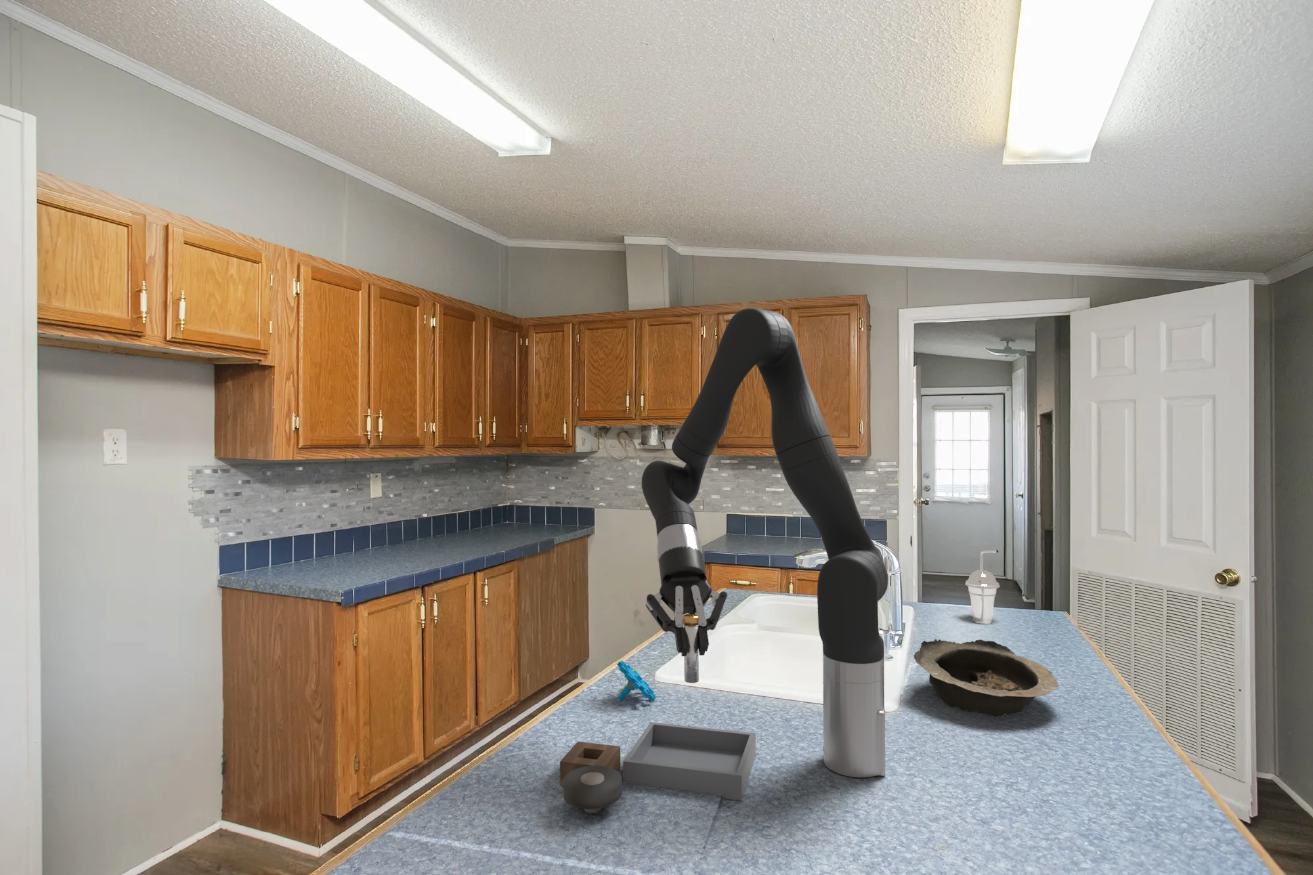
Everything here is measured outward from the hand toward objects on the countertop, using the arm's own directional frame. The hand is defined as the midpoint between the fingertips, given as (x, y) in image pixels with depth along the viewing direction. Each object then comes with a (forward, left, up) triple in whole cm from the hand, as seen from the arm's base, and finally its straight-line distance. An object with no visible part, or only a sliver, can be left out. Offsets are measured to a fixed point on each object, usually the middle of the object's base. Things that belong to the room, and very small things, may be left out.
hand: (693, 652), depth 109 cm
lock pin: (+1, -2, -5) cm, 5 cm away
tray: (+1, -2, -19) cm, 19 cm away
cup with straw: (-56, -103, -19) cm, 119 cm away
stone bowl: (-47, -43, -19) cm, 67 cm away
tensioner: (+13, +9, -19) cm, 25 cm away
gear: (+18, -28, -19) cm, 38 cm away
